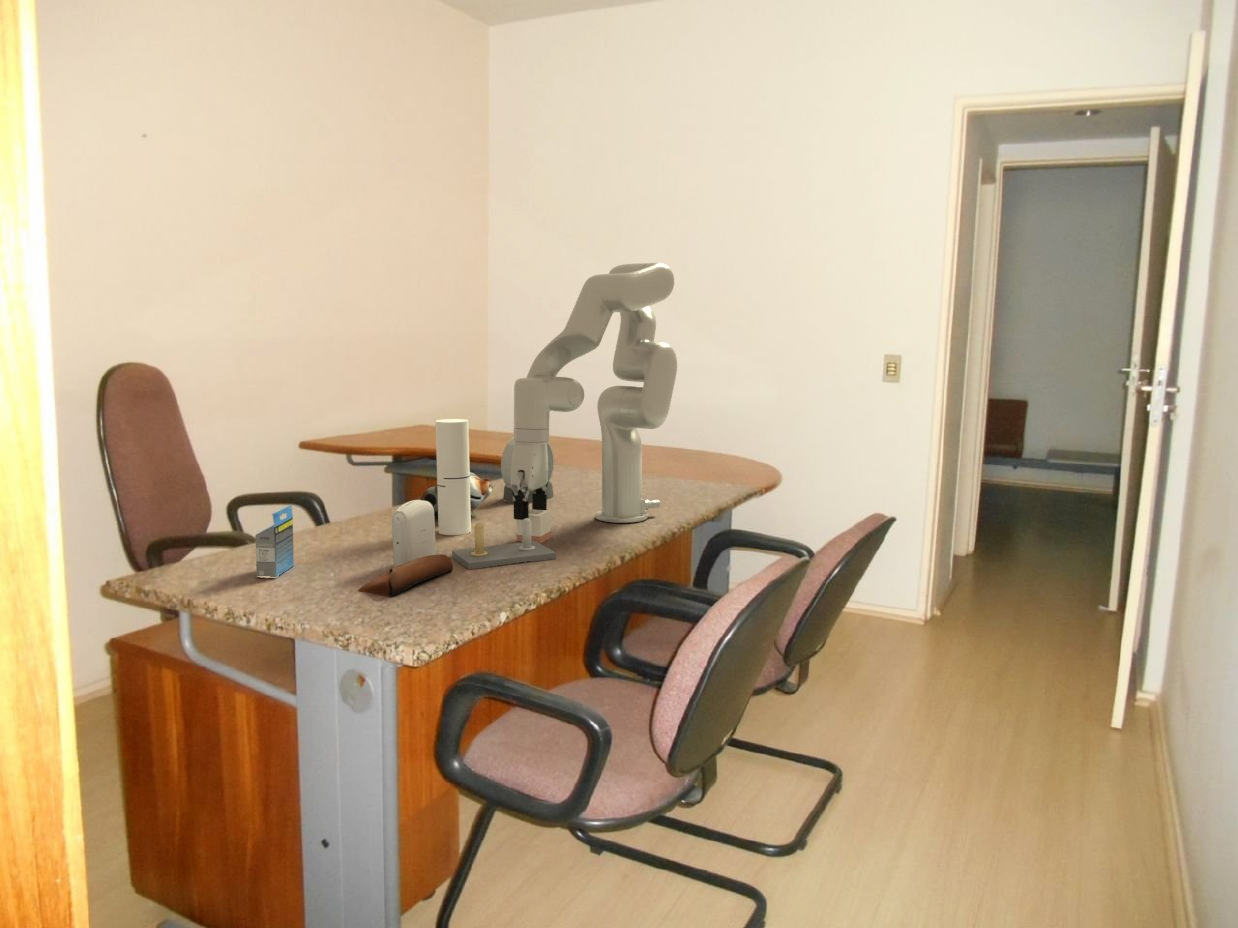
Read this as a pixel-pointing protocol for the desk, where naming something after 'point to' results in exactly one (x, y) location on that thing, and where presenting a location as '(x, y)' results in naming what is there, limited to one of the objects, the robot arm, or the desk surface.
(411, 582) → the sunglasses case
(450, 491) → the cylindrical container
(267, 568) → the label tape box
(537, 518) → the sleeve
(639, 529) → the desk surface
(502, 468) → the alarm clock
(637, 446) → the robot arm
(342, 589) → the desk surface
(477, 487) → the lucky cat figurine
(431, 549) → the photo printer
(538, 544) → the pin board
